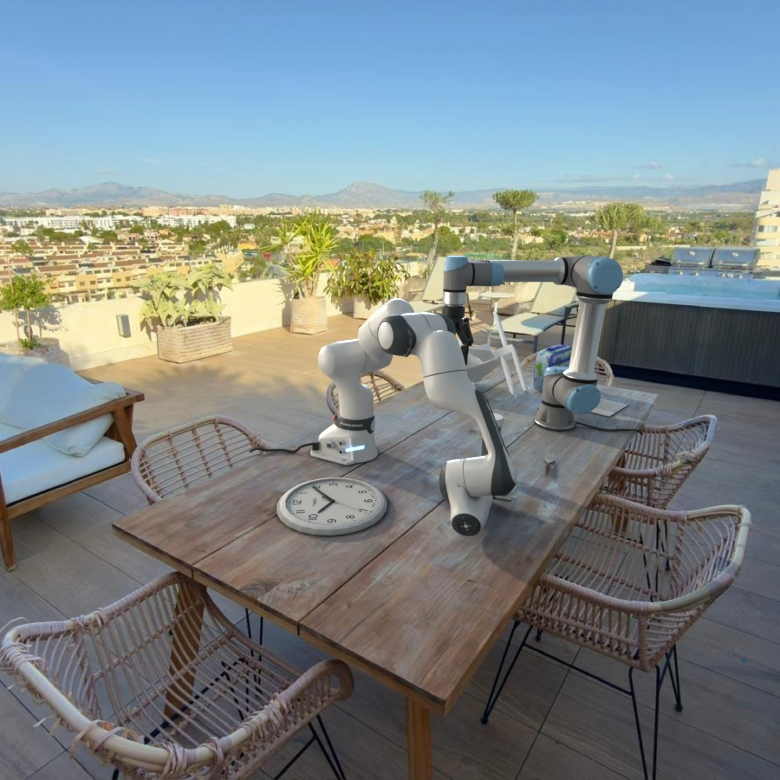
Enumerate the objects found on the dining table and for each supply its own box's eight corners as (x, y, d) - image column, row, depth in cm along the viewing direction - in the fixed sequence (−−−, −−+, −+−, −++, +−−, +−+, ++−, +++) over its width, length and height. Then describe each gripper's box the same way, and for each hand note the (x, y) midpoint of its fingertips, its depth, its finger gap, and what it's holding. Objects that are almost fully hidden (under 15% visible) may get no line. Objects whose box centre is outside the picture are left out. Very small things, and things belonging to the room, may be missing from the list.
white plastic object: (461, 429, 252) (437, 405, 227) (444, 352, 274) (420, 323, 250) (535, 404, 240) (518, 377, 215) (510, 326, 262) (492, 293, 237)
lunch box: (550, 397, 237) (555, 352, 231) (529, 391, 245) (533, 348, 238) (577, 386, 255) (582, 344, 249) (556, 381, 262) (561, 340, 256)
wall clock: (392, 527, 129) (268, 531, 127) (391, 533, 130) (269, 537, 127) (383, 473, 158) (282, 475, 155) (383, 478, 158) (282, 480, 156)
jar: (484, 468, 166) (488, 413, 161) (500, 473, 163) (505, 417, 158) (476, 474, 162) (480, 418, 157) (493, 479, 159) (497, 422, 154)
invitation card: (608, 416, 214) (573, 407, 224) (608, 416, 214) (573, 408, 224) (628, 404, 229) (594, 396, 238) (628, 405, 229) (594, 397, 238)
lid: (487, 418, 162) (487, 411, 161) (506, 423, 159) (506, 415, 158) (478, 424, 157) (479, 417, 156) (497, 429, 154) (498, 421, 153)
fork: (541, 476, 161) (542, 470, 161) (545, 456, 176) (546, 450, 175) (550, 477, 161) (551, 471, 160) (553, 457, 175) (554, 451, 174)
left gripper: (517, 490, 134) (521, 468, 147) (439, 478, 140) (449, 457, 152) (515, 512, 136) (519, 488, 148) (438, 498, 142) (448, 476, 154)
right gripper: (469, 300, 181) (465, 359, 188) (418, 306, 165) (416, 371, 172) (486, 302, 176) (482, 363, 182) (435, 309, 160) (433, 376, 166)
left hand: (483, 472), depth 150 cm, fingers open, 8 cm apart
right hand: (450, 367), depth 177 cm, fingers open, 13 cm apart
